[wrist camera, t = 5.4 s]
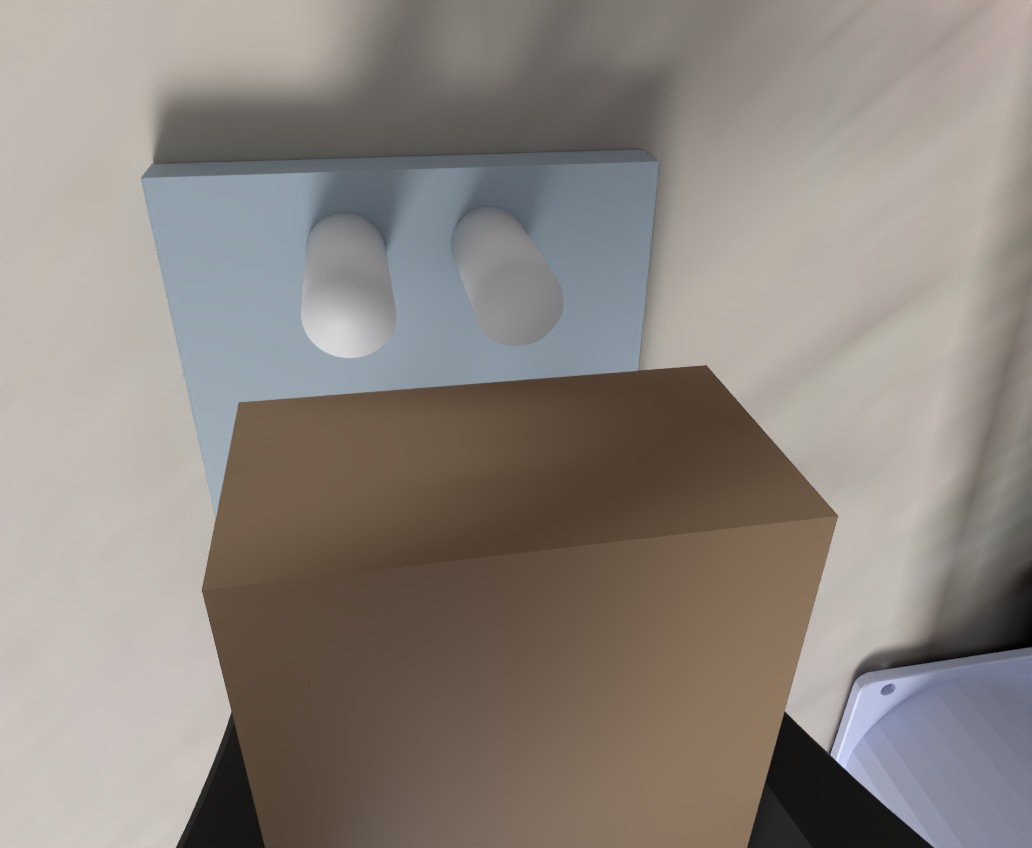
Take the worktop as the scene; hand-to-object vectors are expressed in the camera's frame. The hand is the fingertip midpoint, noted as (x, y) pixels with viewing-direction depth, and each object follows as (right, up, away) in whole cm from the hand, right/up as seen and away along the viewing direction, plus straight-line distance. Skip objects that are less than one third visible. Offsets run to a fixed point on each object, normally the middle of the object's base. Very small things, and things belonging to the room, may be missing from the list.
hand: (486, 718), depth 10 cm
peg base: (-2, +4, +7) cm, 9 cm away
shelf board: (0, 0, 0) cm, 0 cm away
